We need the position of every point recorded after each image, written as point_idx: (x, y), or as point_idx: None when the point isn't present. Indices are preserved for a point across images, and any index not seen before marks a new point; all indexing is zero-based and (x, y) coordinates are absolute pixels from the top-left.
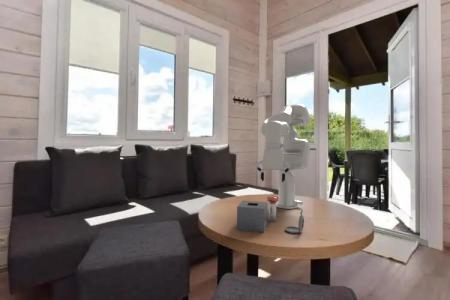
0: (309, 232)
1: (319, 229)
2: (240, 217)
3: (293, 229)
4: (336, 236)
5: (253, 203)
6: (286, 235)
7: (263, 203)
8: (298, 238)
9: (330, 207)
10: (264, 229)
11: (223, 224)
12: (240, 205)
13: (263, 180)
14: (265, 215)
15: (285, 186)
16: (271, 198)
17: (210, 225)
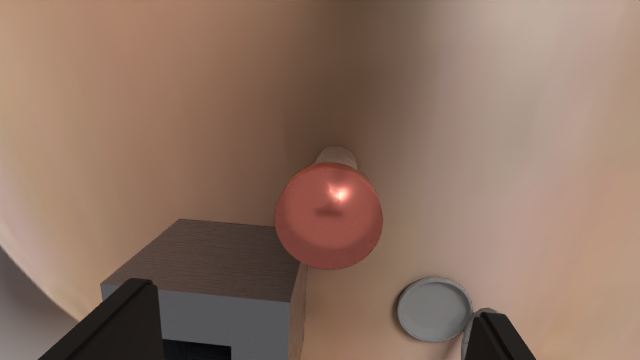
0: (509, 308)
1: (576, 263)
2: None
3: (438, 292)
4: (625, 334)
5: (196, 339)
6: (397, 352)
7: (265, 341)
8: None
9: None
10: (302, 339)
11: (108, 274)
12: None
13: (160, 347)
14: (295, 351)
15: None
16: (318, 268)
17: (61, 295)
